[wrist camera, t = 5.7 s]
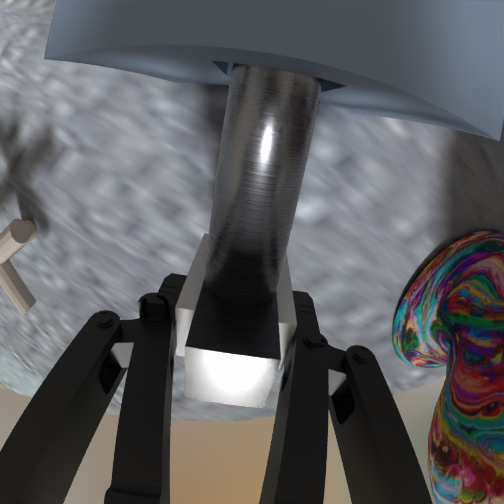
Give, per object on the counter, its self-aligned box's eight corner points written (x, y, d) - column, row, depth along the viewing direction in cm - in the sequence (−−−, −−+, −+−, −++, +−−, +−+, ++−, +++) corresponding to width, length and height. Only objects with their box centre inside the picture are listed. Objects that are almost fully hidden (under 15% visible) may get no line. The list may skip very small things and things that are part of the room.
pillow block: (172, 81, 15) (44, 59, 4) (194, -25, 11) (125, -131, 1) (363, 114, 16) (499, 141, 5) (380, 9, 12) (496, -55, 1)
